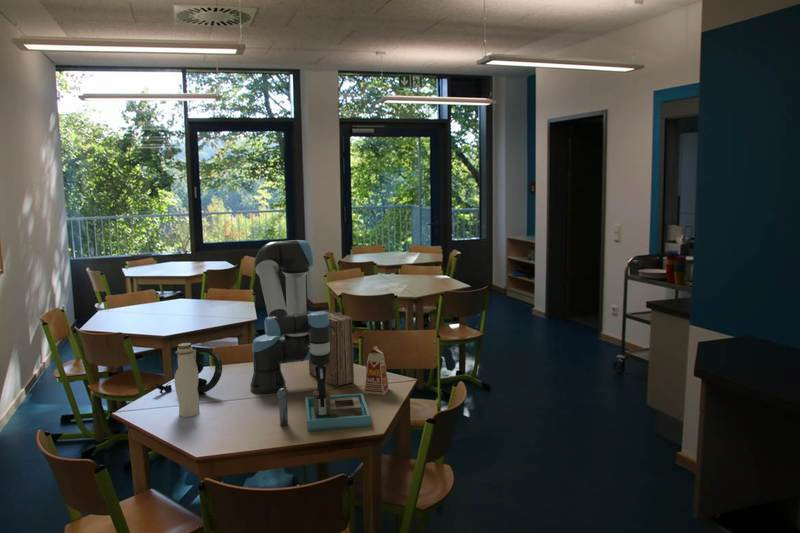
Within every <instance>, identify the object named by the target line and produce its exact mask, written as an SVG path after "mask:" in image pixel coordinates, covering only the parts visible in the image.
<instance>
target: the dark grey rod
mask: <svg viewBox="0 0 800 533" xmlns="http://www.w3.org/2000/svg"><path fill="white" fill-rule="evenodd" d="M276 394H277V397H278V408H279V410H278V412H279V426H280V427H286V426H288V425H289V416H288V415H289V412H288V396H289V392H288V390H287V389H286V387H285V388H281V389H279V390H278V392H276Z"/></svg>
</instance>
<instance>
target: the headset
mask: <svg viewBox="0 0 800 533" xmlns="http://www.w3.org/2000/svg"><path fill="white" fill-rule="evenodd" d="M204 355H209V356H211V358H212V359H213V365H214V372H213V376H212V378H211V379H210V381H209V382H208V381H207V379H205V378H200V377H198V388H197V390H198V395H200V394H201V393H208V392H209V391H211V390H212V389H213V388H215V387H216V385H217V384H218V383H219V381H220V380H221V377H222V373H223V362H222V359H221V358H220V356H219V355H218V353H216V352H214V351H211V350H209V349H200V350H196V365H197V368H198V375H200V374H201V373H202V372H203V370H204V367H205V366H204V363H203V362H202V360H201V357H203V356H204ZM172 383H173V381H170V382H168V383H166V385H165V386H164V385H163V384H161V383H156V384H155V385H154V387H155V388H156V389H158V390H159V393H160V394H162V395H164V392H163V391H165V392H167V393H168V392H169V391H170V392H171V391H172V390H173V388H172Z"/></svg>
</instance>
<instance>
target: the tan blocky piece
mask: <svg viewBox="0 0 800 533" xmlns="http://www.w3.org/2000/svg"><path fill="white" fill-rule="evenodd" d="M325 394H326V415H328V414H329V415H330V418H332V417H344V416H356V415H362V407H361V404H360V401H359V398H358V397H352V398H339V399H330V396H331V393H330V389H325ZM313 397H314V413H315V415H319V401H318V399H317V397H319V391H317V390H313Z"/></svg>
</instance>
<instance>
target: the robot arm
mask: <svg viewBox="0 0 800 533" xmlns="http://www.w3.org/2000/svg"><path fill="white" fill-rule="evenodd" d="M313 257H314V256H313V253H312V248H311V245H310V244H309V242H308V241H307V240H306V239H305V240H304V239H303V240H301V239H294V240H292V239H291V240H279V241H276V240H275V241H270V242H267V243H266V244H264V245H263V246H262V247H260V249H259V251H257V254H256V255H255V259H254V270H255V271H254V272H255V274H257V276H258V278H259V282H260V286H261V292H262V294H263V298H264V303H265V309H266V313H267V317H265V318H264V323H263V324H264V325H263V326H264V331H265V334H262V335H260V336H257V337H256V338H254V339H253V341H252V345H251V346H252V349H251V351H252V359H253V360H252V362H253V363H252V364H253V375H252V377H251V381H250V384H249V386H250V392H253V393H255V394H273V393H277V392H278V390H279V389H281V388H285V389H286V379H285V377H284V375H283V372H282V370H281V368H282V367H281V364H288V363H290V364H291V363H298V362H301V363H302V362H304V361H309V360H310V363H311V364H313V365H316V367H315V372H316V377H317V378H316V377H315V378H316V381H317V382H316V384H317V387H316V389H317V390H316V391H319V397H317V399H318V401H319V415H326V394H325V390H326V382H325V380H326V367H325V366H324V365H325V364H328V363H330V353H329V352H330V341H329V318H328V314H327V313H326V312H322V311H317V312H313V311H314V310H309V311H308V310H307V280H306V276H307V274H308V273H309V272H310V268H311V267H313V264H314V258H313ZM279 269H281V273H282V274H284V277H285V296H284V293H283V289H282V285H281V281H280V276H279V273H278V271H279ZM285 297H286V298H285ZM285 299H286V301H285Z"/></svg>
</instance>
